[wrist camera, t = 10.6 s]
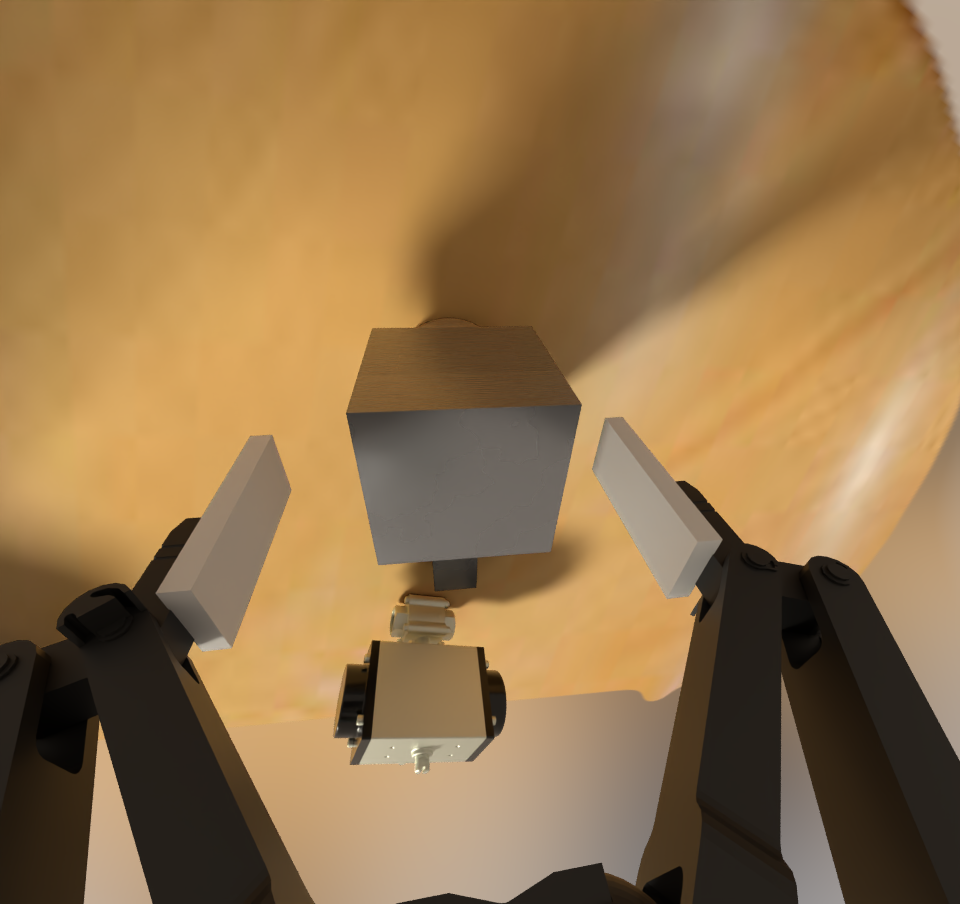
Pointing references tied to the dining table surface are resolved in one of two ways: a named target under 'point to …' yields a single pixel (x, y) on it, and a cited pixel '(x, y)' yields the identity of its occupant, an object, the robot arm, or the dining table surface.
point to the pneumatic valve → (420, 694)
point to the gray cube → (461, 442)
